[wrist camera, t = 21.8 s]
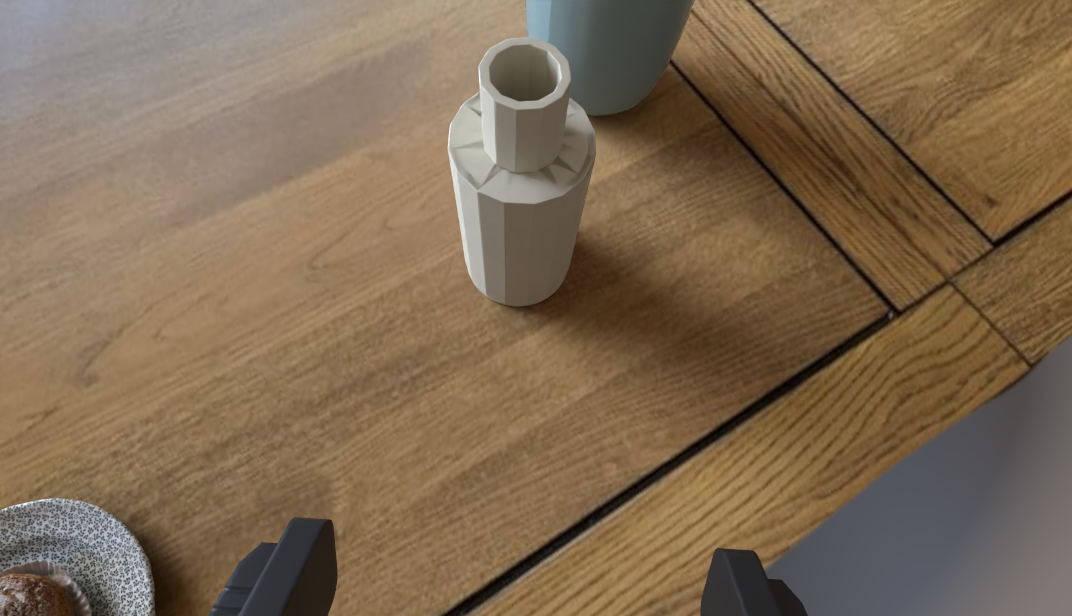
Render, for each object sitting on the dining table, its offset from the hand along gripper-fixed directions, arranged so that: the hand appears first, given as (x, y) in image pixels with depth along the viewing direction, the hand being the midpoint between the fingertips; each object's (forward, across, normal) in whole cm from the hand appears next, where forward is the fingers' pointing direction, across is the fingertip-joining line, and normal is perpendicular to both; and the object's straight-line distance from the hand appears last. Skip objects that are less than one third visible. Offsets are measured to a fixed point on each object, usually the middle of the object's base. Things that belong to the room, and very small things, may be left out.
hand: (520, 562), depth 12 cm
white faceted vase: (+26, +1, +2) cm, 26 cm away
